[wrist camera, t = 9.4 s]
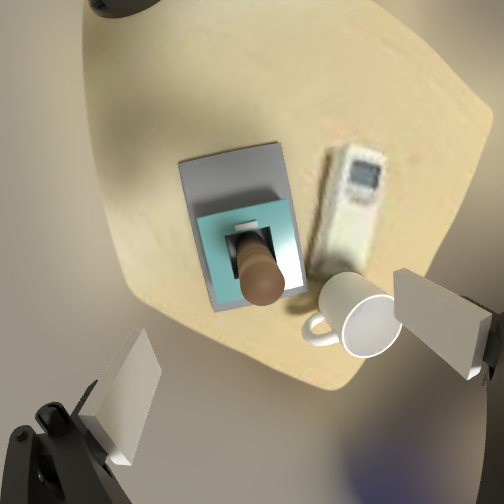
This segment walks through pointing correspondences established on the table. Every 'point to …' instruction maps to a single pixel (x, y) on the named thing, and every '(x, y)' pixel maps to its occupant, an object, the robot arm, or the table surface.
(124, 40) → the table surface
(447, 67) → the table surface
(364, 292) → the mug
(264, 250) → the wooden rounded dowel
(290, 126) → the table surface
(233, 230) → the teal square peg holder
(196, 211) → the board
